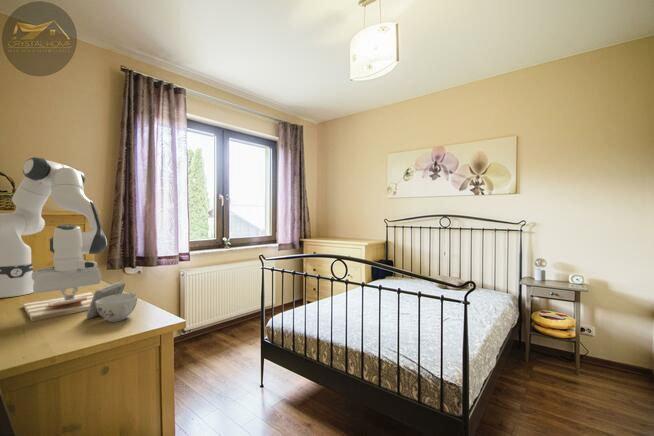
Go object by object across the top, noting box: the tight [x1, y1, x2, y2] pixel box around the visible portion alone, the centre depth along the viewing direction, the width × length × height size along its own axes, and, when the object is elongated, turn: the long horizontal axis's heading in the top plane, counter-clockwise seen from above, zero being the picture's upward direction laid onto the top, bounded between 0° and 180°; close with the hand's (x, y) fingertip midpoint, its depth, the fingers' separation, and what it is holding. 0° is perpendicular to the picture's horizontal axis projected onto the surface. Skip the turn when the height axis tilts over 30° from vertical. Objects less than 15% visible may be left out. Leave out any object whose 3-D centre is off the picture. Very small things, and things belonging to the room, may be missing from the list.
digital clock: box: [86, 280, 126, 319], centre depth 114 cm, size 16×9×11 cm, turn 174°
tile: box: [49, 297, 87, 306], centre depth 117 cm, size 11×10×1 cm
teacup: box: [95, 292, 139, 323], centre depth 105 cm, size 15×12×8 cm
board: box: [22, 291, 94, 323], centre depth 120 cm, size 26×22×2 cm
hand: (69, 299), depth 115 cm, fingers closed, pressing on tile
